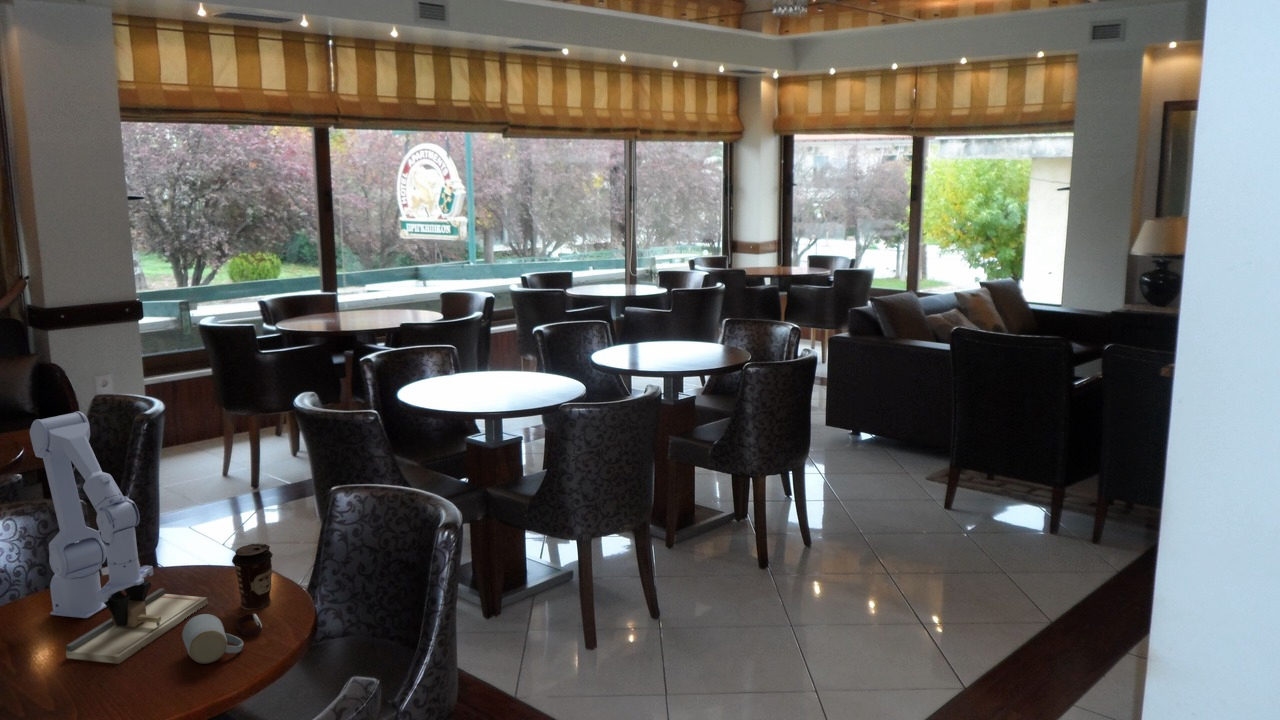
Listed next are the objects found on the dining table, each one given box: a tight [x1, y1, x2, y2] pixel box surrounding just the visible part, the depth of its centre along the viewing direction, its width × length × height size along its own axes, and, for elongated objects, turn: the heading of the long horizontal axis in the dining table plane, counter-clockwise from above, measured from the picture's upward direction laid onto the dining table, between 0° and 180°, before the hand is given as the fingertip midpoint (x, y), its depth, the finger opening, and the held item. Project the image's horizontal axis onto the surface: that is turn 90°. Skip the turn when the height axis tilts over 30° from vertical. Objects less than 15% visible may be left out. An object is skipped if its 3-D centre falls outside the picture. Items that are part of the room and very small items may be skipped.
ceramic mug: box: [181, 613, 244, 665], centre depth 200 cm, size 11×8×8 cm
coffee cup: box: [231, 543, 274, 611], centre depth 223 cm, size 9×8×13 cm
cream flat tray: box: [65, 587, 209, 664], centre depth 212 cm, size 12×28×3 cm, turn 168°
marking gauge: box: [110, 600, 161, 628], centre depth 211 cm, size 10×4×4 cm, turn 78°
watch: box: [236, 613, 263, 638], centre depth 211 cm, size 8×5×4 cm, turn 38°
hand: (129, 620), depth 212 cm, fingers closed on marking gauge, 4 cm apart
